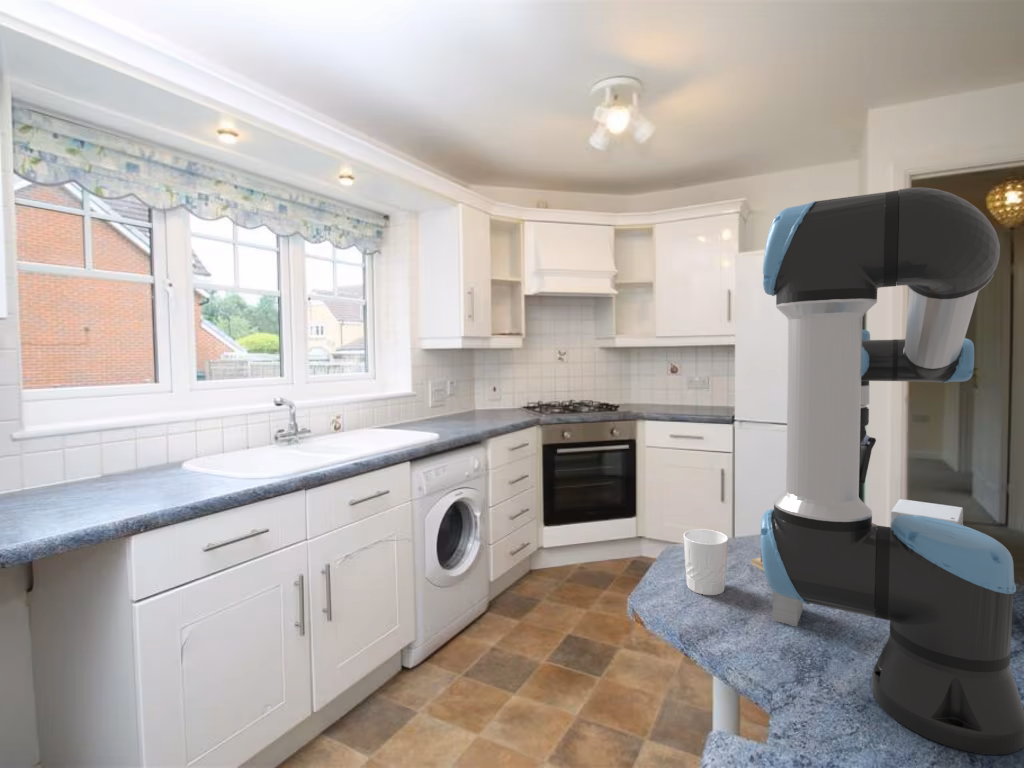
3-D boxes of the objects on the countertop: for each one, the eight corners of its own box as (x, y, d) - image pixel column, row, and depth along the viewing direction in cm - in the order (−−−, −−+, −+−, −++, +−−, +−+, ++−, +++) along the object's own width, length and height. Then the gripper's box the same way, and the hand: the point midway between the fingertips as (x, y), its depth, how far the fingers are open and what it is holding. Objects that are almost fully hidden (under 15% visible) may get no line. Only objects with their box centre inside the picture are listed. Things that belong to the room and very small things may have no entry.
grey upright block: (802, 609, 93) (803, 553, 92) (797, 627, 88) (797, 567, 87) (779, 603, 95) (779, 548, 94) (772, 620, 90) (772, 562, 89)
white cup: (733, 585, 103) (733, 534, 102) (719, 601, 97) (719, 547, 96) (693, 574, 108) (693, 526, 107) (677, 589, 102) (676, 538, 101)
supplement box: (962, 601, 94) (966, 507, 93) (958, 622, 87) (961, 521, 86) (896, 585, 101) (898, 497, 99) (886, 604, 94) (889, 509, 92)
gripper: (856, 401, 115) (854, 509, 117) (806, 405, 112) (804, 516, 114) (889, 405, 108) (886, 520, 110) (836, 409, 105) (834, 527, 107)
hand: (844, 518), depth 112 cm, fingers closed
